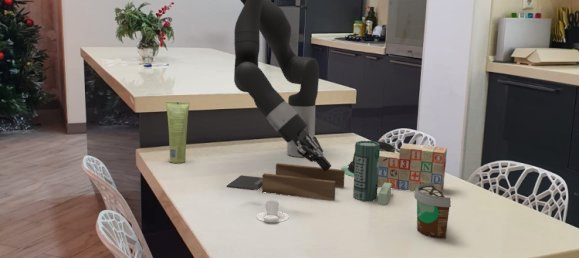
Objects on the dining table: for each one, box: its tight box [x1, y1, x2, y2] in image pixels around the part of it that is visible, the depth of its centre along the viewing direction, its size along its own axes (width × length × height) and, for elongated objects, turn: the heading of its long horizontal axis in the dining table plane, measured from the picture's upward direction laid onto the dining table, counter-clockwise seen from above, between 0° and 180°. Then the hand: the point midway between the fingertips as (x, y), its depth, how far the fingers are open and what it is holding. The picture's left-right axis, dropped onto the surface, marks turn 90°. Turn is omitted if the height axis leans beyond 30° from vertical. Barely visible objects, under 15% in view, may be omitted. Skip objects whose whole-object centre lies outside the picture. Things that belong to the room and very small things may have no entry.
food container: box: [413, 182, 452, 240], centre depth 139 cm, size 12×6×10 cm, turn 5°
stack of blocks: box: [378, 142, 448, 193], centre depth 172 cm, size 21×6×12 cm, turn 69°
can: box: [352, 140, 380, 202], centre depth 161 cm, size 6×6×15 cm
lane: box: [261, 162, 346, 202], centre depth 168 cm, size 13×20×5 cm, turn 73°
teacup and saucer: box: [256, 199, 290, 223], centre depth 146 cm, size 9×8×4 cm
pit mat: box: [225, 174, 262, 191], centre depth 173 cm, size 11×9×2 cm
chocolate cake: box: [340, 140, 396, 177], centre depth 189 cm, size 15×19×20 cm
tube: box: [165, 100, 190, 164], centre depth 193 cm, size 6×5×20 cm
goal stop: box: [377, 183, 392, 206], centre depth 162 cm, size 10×2×3 cm, turn 163°
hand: (328, 168), depth 165 cm, fingers closed
